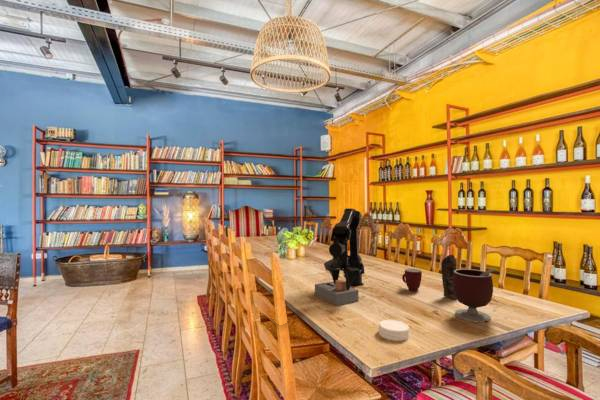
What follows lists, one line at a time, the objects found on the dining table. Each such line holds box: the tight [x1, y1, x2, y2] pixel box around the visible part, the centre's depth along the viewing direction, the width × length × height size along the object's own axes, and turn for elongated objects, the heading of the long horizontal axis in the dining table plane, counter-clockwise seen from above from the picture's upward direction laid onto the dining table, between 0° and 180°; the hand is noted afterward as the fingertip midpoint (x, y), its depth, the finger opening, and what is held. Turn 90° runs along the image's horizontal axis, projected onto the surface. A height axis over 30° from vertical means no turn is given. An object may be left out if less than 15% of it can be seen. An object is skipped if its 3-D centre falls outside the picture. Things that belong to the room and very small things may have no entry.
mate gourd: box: [453, 268, 496, 323], centre depth 121 cm, size 16×14×20 cm
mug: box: [401, 268, 423, 292], centre depth 158 cm, size 11×8×10 cm
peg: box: [335, 279, 348, 292], centre depth 141 cm, size 4×4×9 cm
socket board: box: [314, 280, 359, 307], centre depth 145 cm, size 12×18×5 cm, turn 29°
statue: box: [440, 254, 457, 300], centre depth 145 cm, size 7×7×20 cm
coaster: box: [378, 319, 410, 342], centre depth 105 cm, size 10×10×4 cm
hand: (341, 287), depth 141 cm, fingers open, 9 cm apart
